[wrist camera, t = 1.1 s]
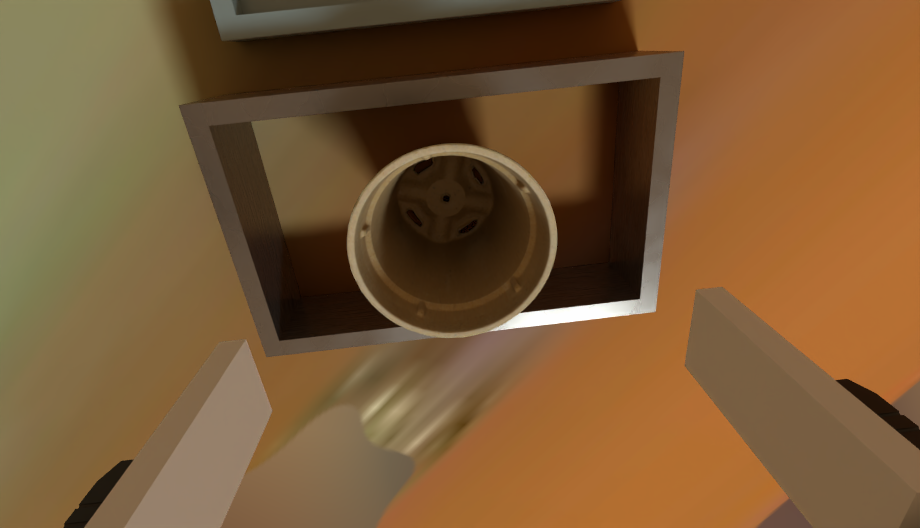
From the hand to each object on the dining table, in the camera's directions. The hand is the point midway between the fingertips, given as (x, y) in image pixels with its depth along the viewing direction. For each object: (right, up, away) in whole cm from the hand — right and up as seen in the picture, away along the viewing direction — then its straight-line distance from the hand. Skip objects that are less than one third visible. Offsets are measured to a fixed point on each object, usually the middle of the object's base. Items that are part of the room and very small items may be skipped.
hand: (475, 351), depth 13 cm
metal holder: (-1, +7, +15) cm, 16 cm away
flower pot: (-1, +7, +15) cm, 16 cm away
